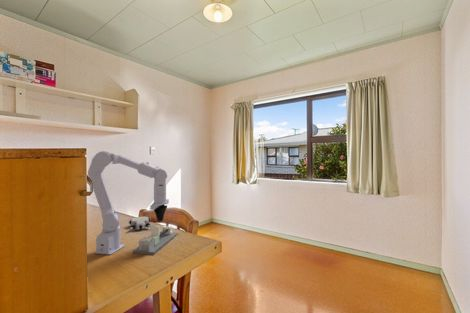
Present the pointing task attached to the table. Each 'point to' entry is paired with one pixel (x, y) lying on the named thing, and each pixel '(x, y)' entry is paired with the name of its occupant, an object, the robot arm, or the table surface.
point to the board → (162, 242)
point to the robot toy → (139, 222)
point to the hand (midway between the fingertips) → (160, 220)
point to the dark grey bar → (163, 232)
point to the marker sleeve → (155, 234)
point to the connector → (146, 244)
